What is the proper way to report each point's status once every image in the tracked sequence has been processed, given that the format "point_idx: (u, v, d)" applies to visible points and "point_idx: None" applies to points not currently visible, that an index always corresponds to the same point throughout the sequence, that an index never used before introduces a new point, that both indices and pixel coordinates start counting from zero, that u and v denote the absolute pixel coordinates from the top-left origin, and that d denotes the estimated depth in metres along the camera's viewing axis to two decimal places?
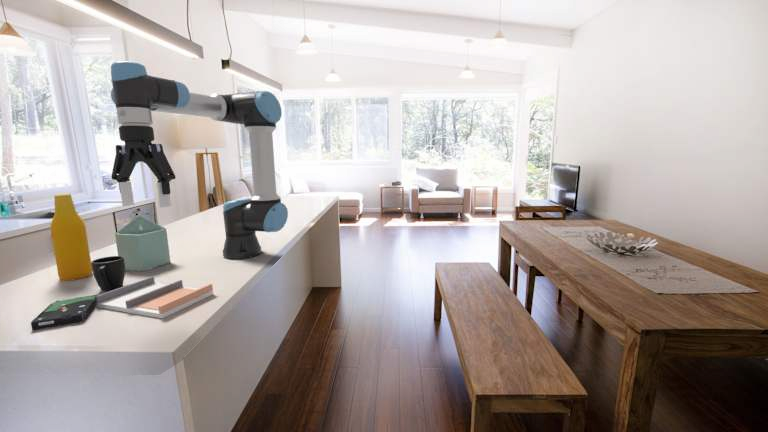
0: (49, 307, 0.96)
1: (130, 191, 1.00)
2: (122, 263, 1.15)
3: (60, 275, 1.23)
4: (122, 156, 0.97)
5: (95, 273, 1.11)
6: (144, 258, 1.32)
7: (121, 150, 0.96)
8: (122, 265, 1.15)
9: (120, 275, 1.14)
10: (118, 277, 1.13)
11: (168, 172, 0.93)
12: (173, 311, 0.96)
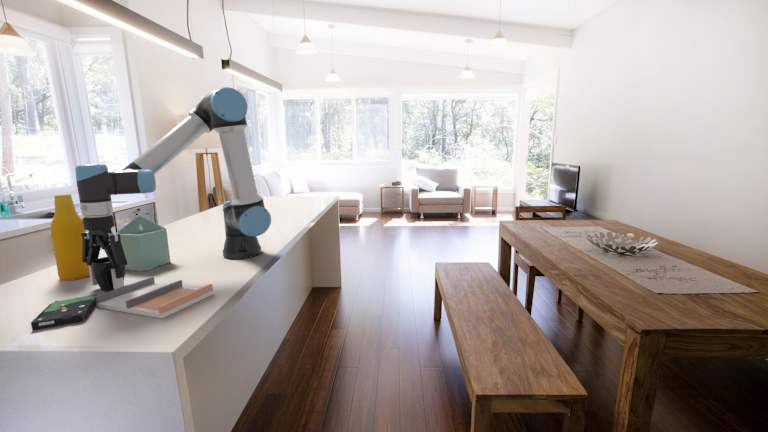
0: (48, 307, 0.96)
1: None
2: None
3: (60, 275, 1.23)
4: (88, 241, 1.13)
5: (95, 273, 1.10)
6: (144, 258, 1.32)
7: (86, 236, 1.12)
8: None
9: None
10: None
11: (121, 260, 1.09)
12: (173, 311, 0.96)
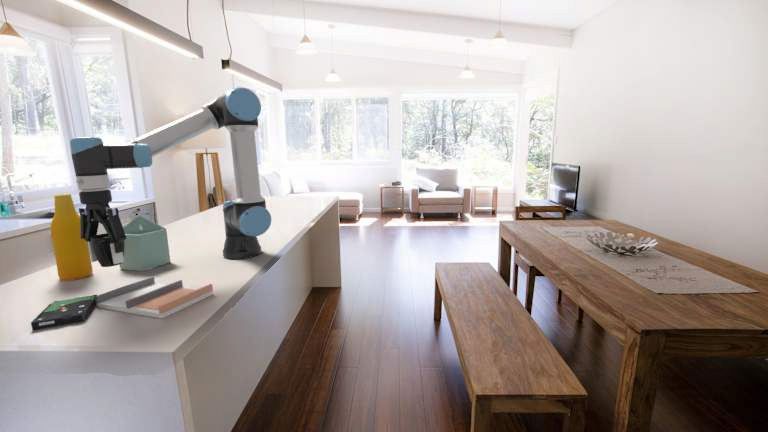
0: (48, 307, 0.96)
1: None
2: None
3: (60, 275, 1.23)
4: (86, 217, 1.11)
5: (94, 248, 1.09)
6: (144, 258, 1.32)
7: (84, 212, 1.10)
8: (122, 241, 1.13)
9: None
10: None
11: (120, 234, 1.08)
12: (173, 311, 0.96)
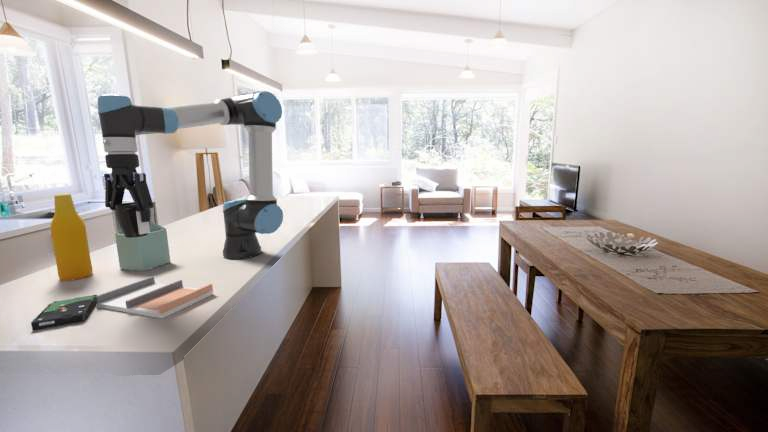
0: (48, 308, 0.96)
1: None
2: None
3: (60, 275, 1.23)
4: (111, 183, 1.04)
5: (119, 217, 1.01)
6: (144, 258, 1.32)
7: (109, 177, 1.03)
8: (148, 210, 1.05)
9: None
10: None
11: (147, 202, 1.00)
12: (173, 311, 0.96)
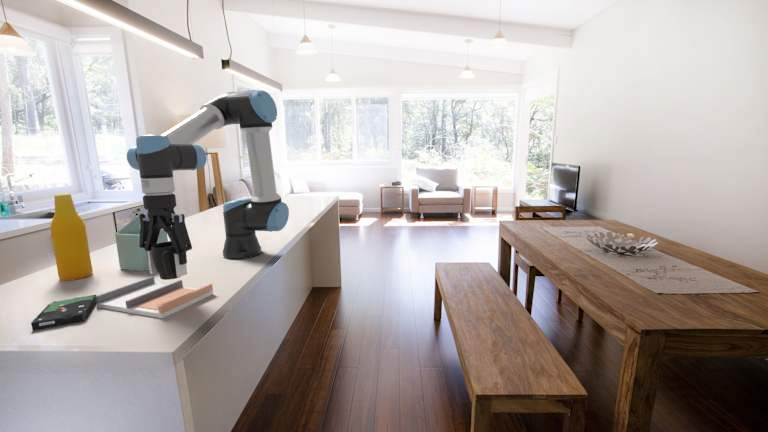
0: (47, 308, 0.96)
1: None
2: None
3: (60, 275, 1.23)
4: (146, 223, 1.00)
5: (156, 259, 0.98)
6: (144, 258, 1.32)
7: (145, 218, 0.99)
8: None
9: None
10: None
11: (186, 244, 0.97)
12: (173, 311, 0.96)
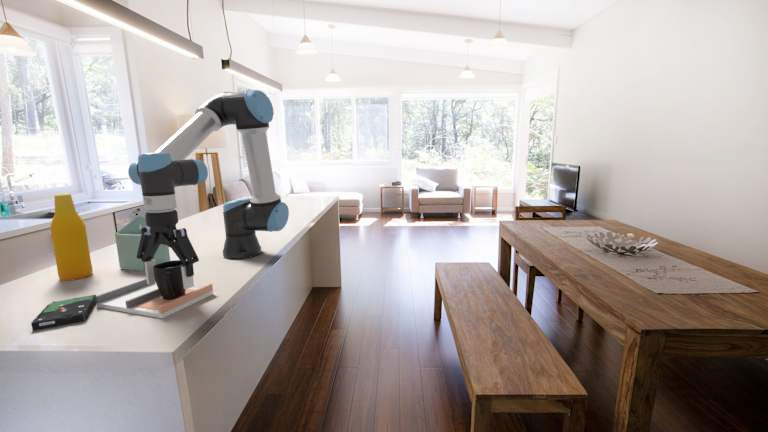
0: (47, 308, 0.95)
1: None
2: None
3: (60, 275, 1.23)
4: (147, 237, 1.01)
5: (158, 280, 0.99)
6: None
7: (146, 232, 1.00)
8: None
9: None
10: (182, 284, 1.02)
11: (192, 256, 0.97)
12: (173, 311, 0.96)
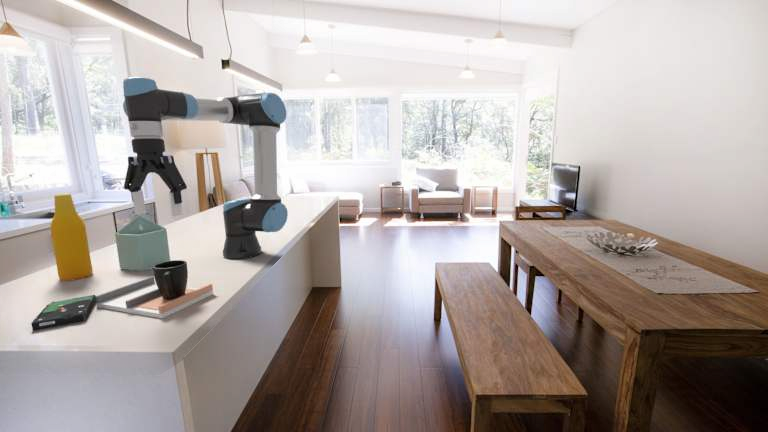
0: (46, 308, 0.95)
1: (142, 200, 1.04)
2: (185, 268, 1.03)
3: (60, 275, 1.23)
4: (134, 167, 1.02)
5: (158, 280, 0.99)
6: (144, 258, 1.32)
7: (133, 161, 1.01)
8: (186, 270, 1.03)
9: (184, 282, 1.02)
10: (182, 284, 1.02)
11: (180, 182, 0.98)
12: (173, 311, 0.96)
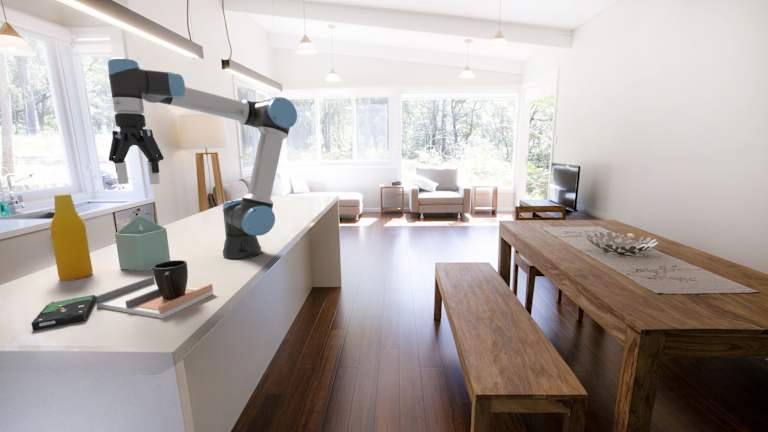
0: (46, 308, 0.95)
1: (125, 171, 1.15)
2: (185, 268, 1.03)
3: (60, 275, 1.23)
4: (118, 140, 1.12)
5: (158, 280, 0.99)
6: (144, 258, 1.32)
7: (117, 135, 1.11)
8: (186, 270, 1.03)
9: (184, 282, 1.02)
10: (182, 284, 1.02)
11: (157, 153, 1.08)
12: (173, 311, 0.96)
